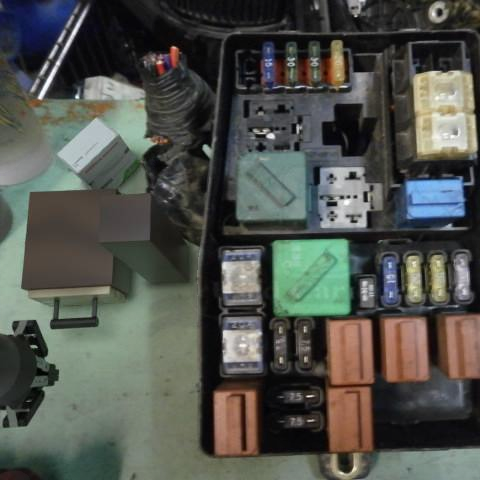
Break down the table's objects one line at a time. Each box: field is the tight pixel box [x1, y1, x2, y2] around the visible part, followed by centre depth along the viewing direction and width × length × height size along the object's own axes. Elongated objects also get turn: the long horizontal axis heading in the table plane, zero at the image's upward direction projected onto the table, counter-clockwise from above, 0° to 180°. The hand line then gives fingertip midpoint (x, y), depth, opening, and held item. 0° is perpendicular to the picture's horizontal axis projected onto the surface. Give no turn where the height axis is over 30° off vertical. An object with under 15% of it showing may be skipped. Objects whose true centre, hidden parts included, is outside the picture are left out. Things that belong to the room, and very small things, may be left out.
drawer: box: [27, 285, 126, 330], centre depth 82 cm, size 18×11×7 cm, turn 4°
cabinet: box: [20, 188, 133, 297], centre depth 83 cm, size 15×13×9 cm
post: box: [98, 192, 190, 285], centre depth 75 cm, size 6×6×24 cm
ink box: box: [56, 116, 141, 189], centre depth 85 cm, size 9×5×12 cm, turn 141°
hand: (51, 376), depth 72 cm, fingers closed
